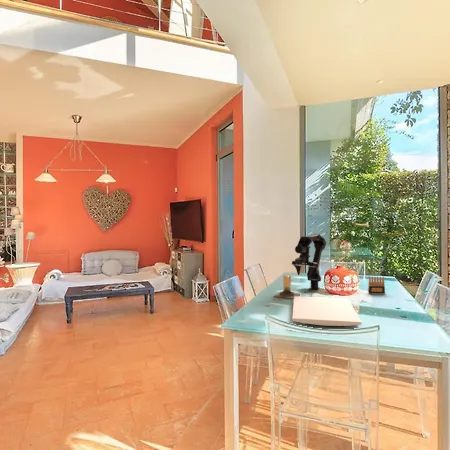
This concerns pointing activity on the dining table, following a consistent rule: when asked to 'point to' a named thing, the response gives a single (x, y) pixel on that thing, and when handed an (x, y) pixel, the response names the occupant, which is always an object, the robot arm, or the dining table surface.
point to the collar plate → (286, 295)
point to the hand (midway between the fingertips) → (303, 275)
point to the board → (324, 311)
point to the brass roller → (286, 284)
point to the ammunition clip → (376, 285)
